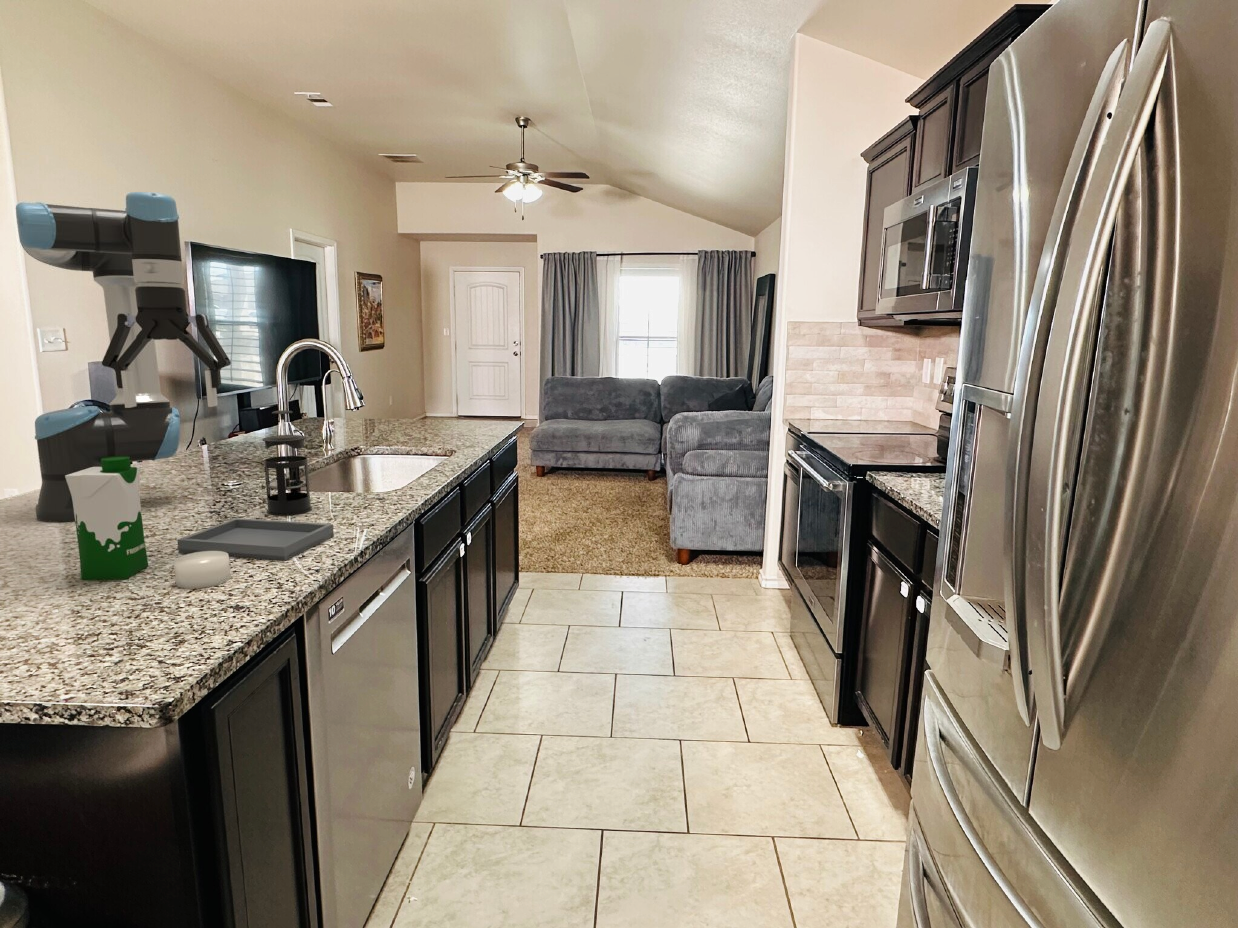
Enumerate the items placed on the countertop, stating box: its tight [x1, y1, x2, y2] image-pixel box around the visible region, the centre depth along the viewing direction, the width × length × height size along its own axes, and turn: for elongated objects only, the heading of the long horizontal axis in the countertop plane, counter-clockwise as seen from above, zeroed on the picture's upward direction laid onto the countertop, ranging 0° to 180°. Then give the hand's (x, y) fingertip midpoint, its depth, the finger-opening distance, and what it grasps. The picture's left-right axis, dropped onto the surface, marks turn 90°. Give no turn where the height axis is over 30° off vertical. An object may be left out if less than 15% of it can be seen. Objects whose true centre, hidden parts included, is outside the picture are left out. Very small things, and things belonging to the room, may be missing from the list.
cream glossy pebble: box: [173, 551, 231, 589], centre depth 124 cm, size 8×8×4 cm
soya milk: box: [65, 456, 149, 581], centre depth 125 cm, size 9×9×20 cm
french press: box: [262, 410, 313, 517], centre depth 168 cm, size 12×9×23 cm
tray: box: [176, 517, 335, 561], centre depth 144 cm, size 22×16×2 cm
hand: (172, 406), depth 134 cm, fingers open, 13 cm apart
